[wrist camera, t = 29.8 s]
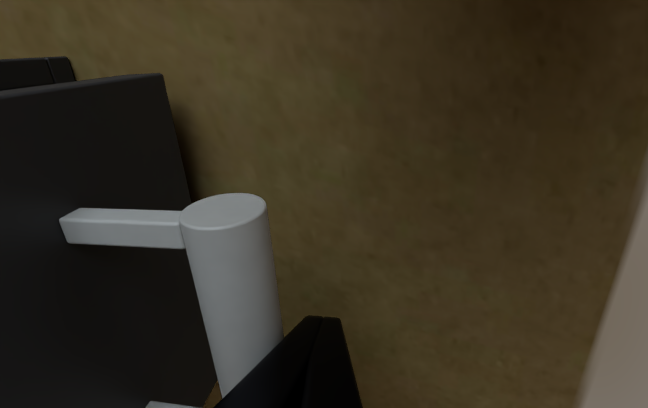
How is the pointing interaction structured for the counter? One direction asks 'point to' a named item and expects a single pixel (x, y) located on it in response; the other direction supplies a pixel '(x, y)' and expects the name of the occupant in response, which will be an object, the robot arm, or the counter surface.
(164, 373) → the pulled-out drawer
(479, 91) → the counter surface
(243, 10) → the counter surface
